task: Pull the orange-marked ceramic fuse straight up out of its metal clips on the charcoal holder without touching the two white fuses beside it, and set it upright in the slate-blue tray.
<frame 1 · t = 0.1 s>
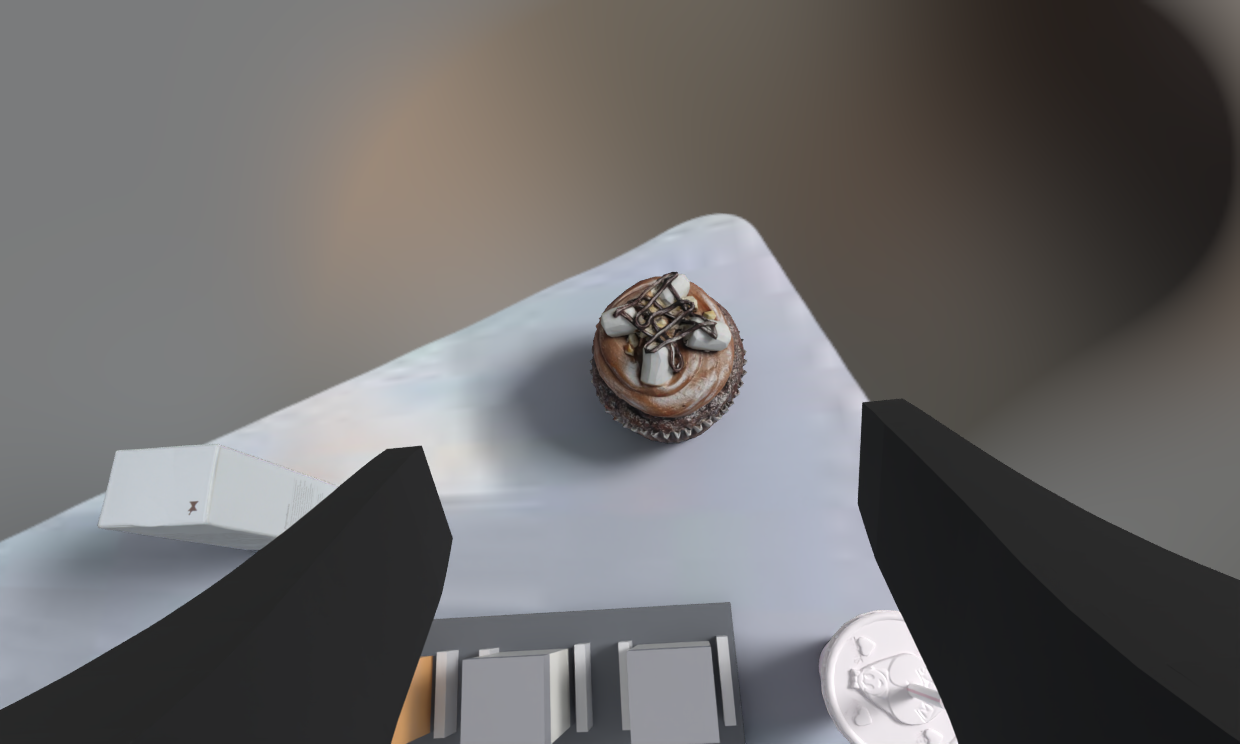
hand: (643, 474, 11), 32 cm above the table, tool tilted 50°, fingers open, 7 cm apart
cupcake: (669, 387, 45), on the table
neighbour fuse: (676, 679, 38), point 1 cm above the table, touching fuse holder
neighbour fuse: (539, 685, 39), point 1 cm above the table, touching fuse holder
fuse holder: (542, 684, 40), on the table
skincare box: (294, 517, 45), on the table
smoothie: (850, 669, 38), on the table
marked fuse: (407, 692, 40), point 1 cm above the table, touching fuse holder
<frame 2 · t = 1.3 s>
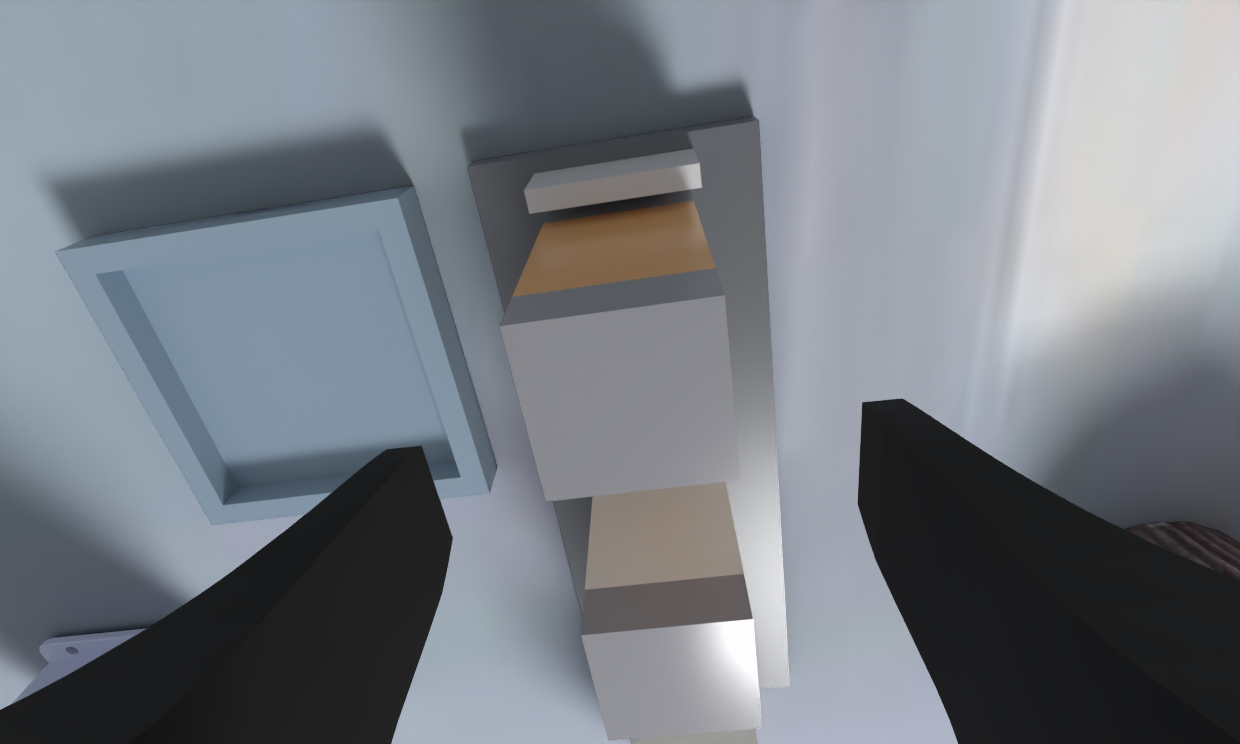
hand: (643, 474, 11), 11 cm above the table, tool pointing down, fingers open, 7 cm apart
cupcake: (1132, 592, 27), on the table
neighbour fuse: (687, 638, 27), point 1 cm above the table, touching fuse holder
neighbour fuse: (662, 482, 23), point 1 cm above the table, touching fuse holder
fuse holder: (662, 468, 24), on the table
tray: (312, 361, 22), on the table
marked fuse: (629, 266, 20), point 1 cm above the table, touching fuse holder
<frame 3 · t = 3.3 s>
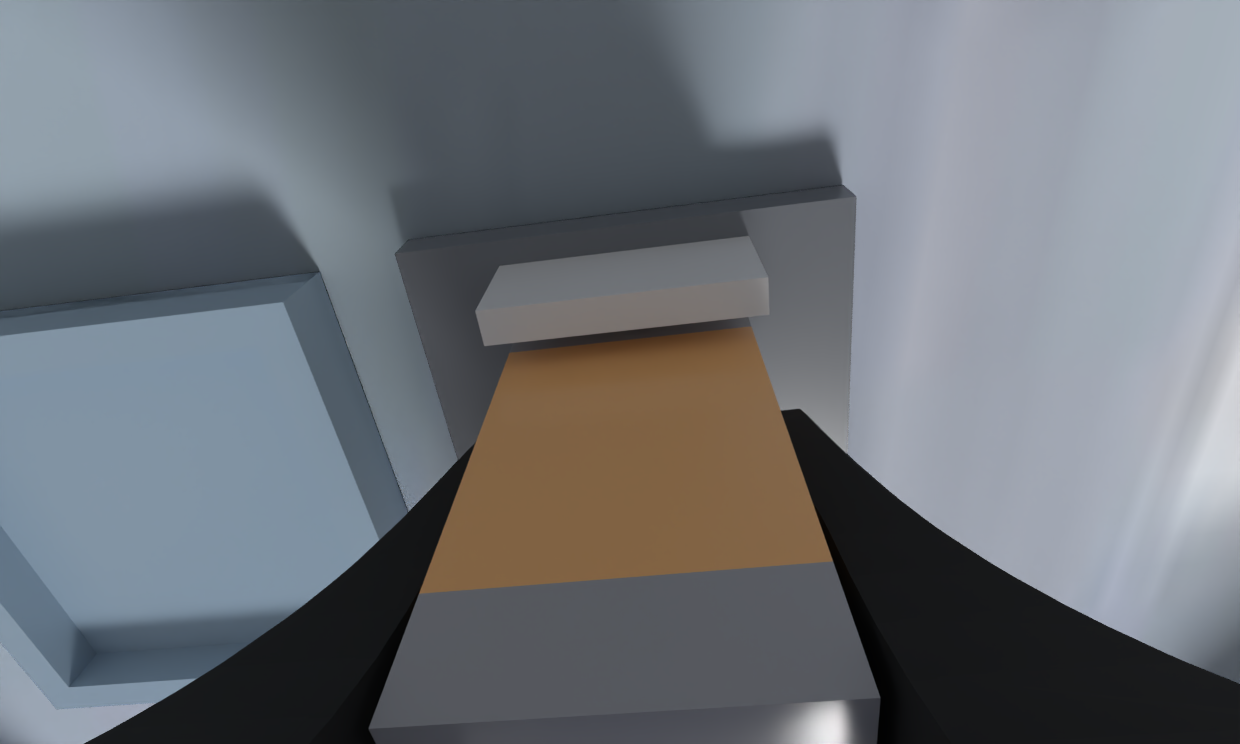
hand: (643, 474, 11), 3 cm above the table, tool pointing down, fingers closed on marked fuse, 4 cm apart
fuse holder: (677, 641, 18), on the table
tray: (188, 500, 16), on the table
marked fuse: (642, 399, 13), point 1 cm above the table, touching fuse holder, gripper
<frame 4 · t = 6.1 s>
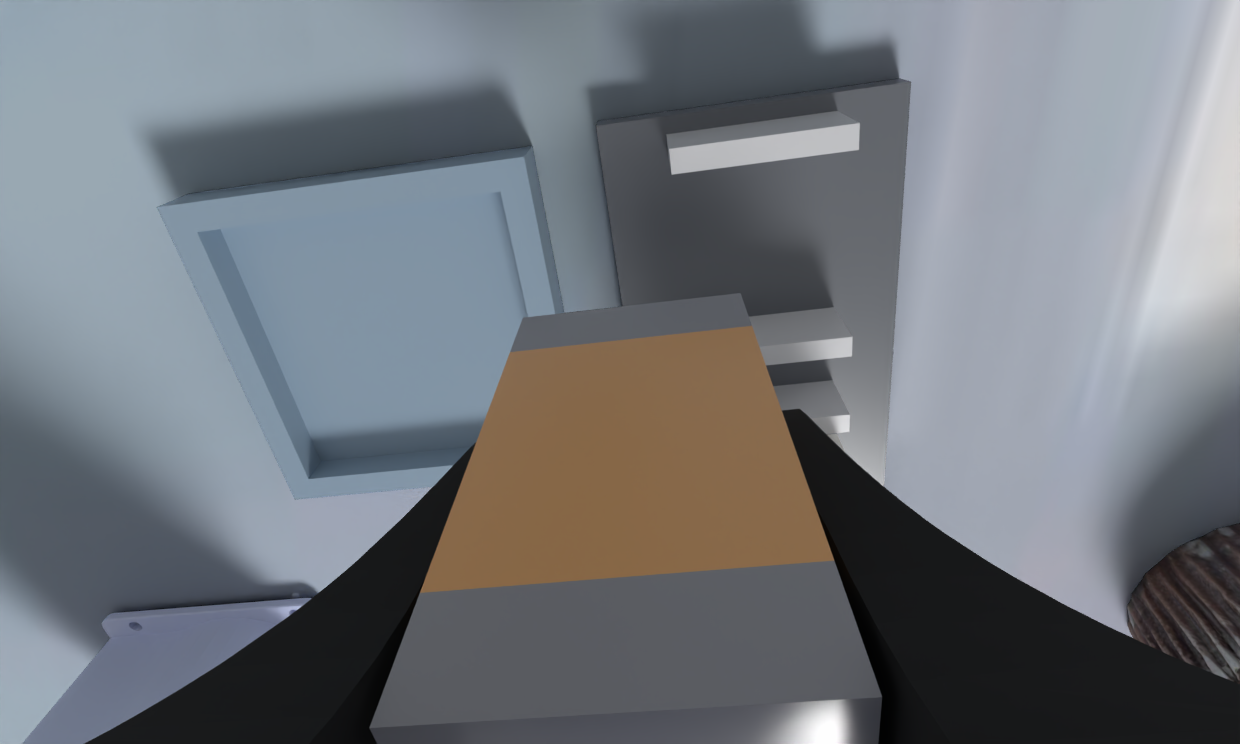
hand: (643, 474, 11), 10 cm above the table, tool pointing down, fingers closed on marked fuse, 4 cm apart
cupcake: (1231, 590, 26), on the table
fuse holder: (761, 450, 23), on the table
tray: (408, 331, 21), on the table
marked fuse: (642, 398, 13), point 8 cm above the table, touching gripper
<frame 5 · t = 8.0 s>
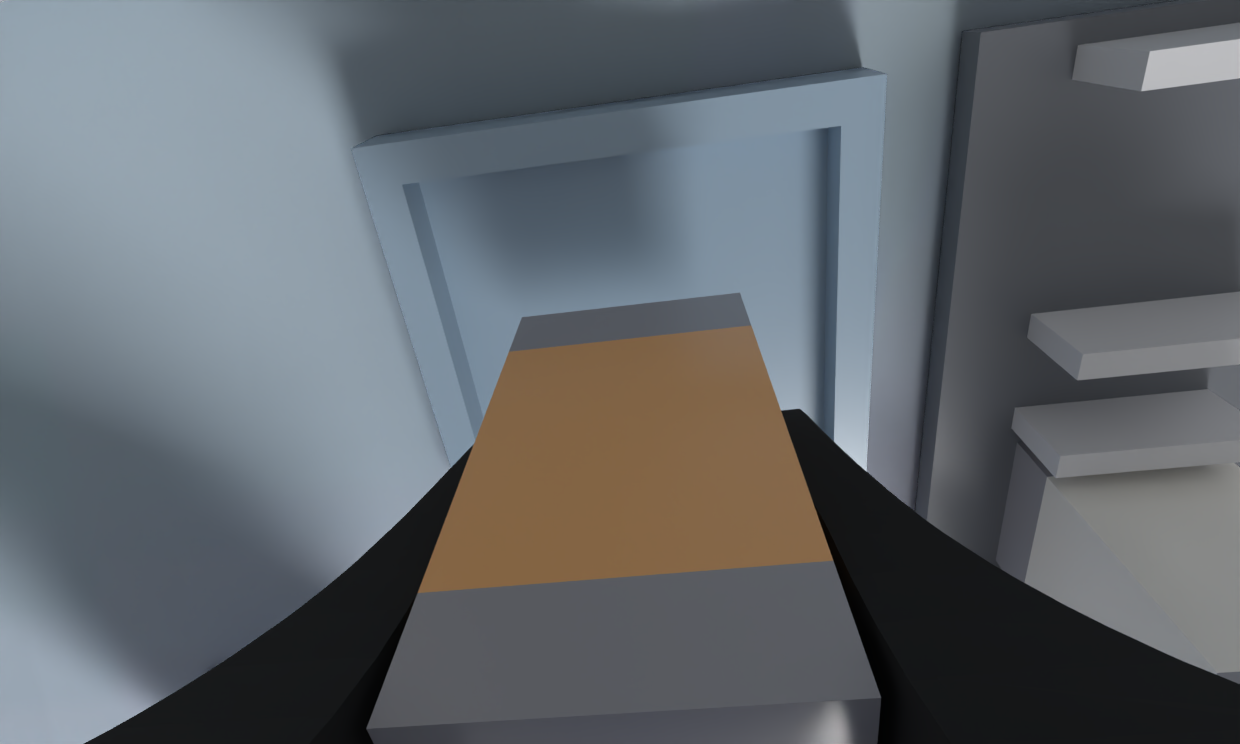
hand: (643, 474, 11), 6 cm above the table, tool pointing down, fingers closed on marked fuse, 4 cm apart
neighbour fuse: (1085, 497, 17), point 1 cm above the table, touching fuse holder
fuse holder: (1067, 478, 18), on the table
tray: (641, 324, 16), on the table
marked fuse: (642, 398, 13), point 4 cm above the table, touching gripper
when the fingers open (4 cm above the table, at t = 9.3 s): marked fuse drops 1 cm, resting on tray.
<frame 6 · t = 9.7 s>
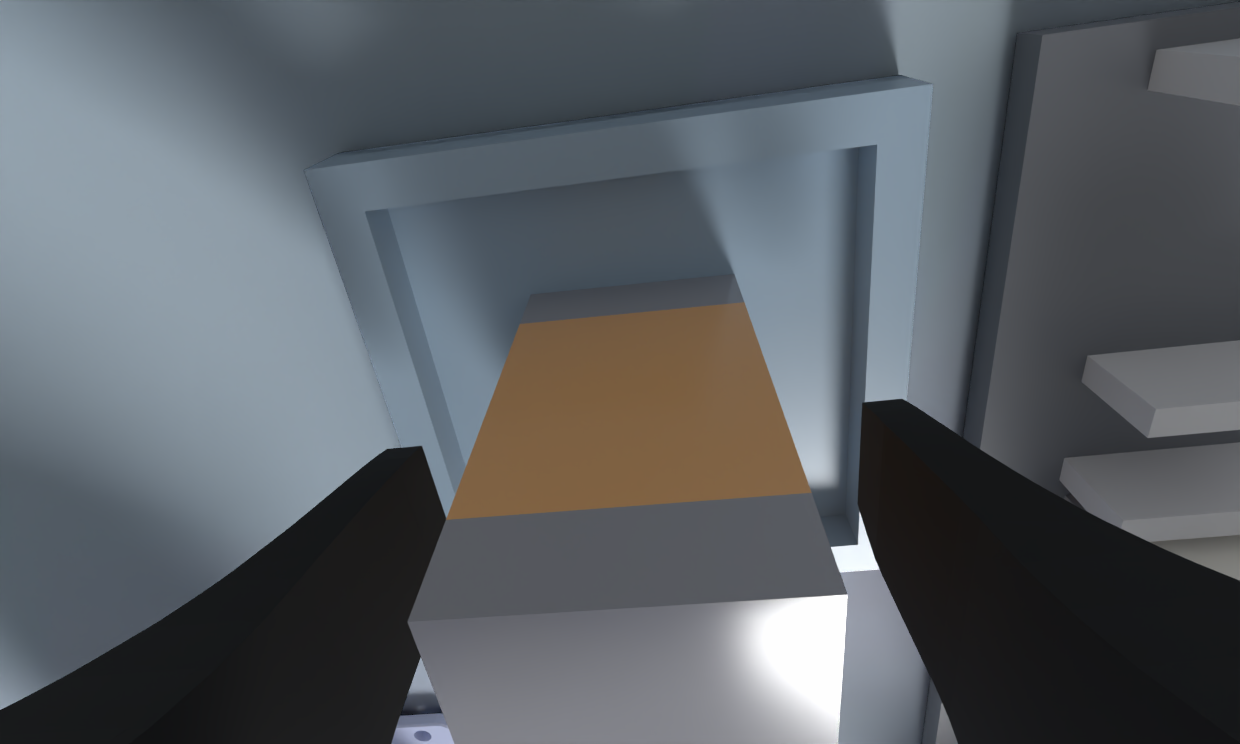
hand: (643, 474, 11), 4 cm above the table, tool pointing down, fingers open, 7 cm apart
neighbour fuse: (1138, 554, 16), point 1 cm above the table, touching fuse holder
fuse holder: (1117, 530, 16), on the table
tray: (642, 363, 14), on the table
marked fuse: (641, 373, 14), resting on tray
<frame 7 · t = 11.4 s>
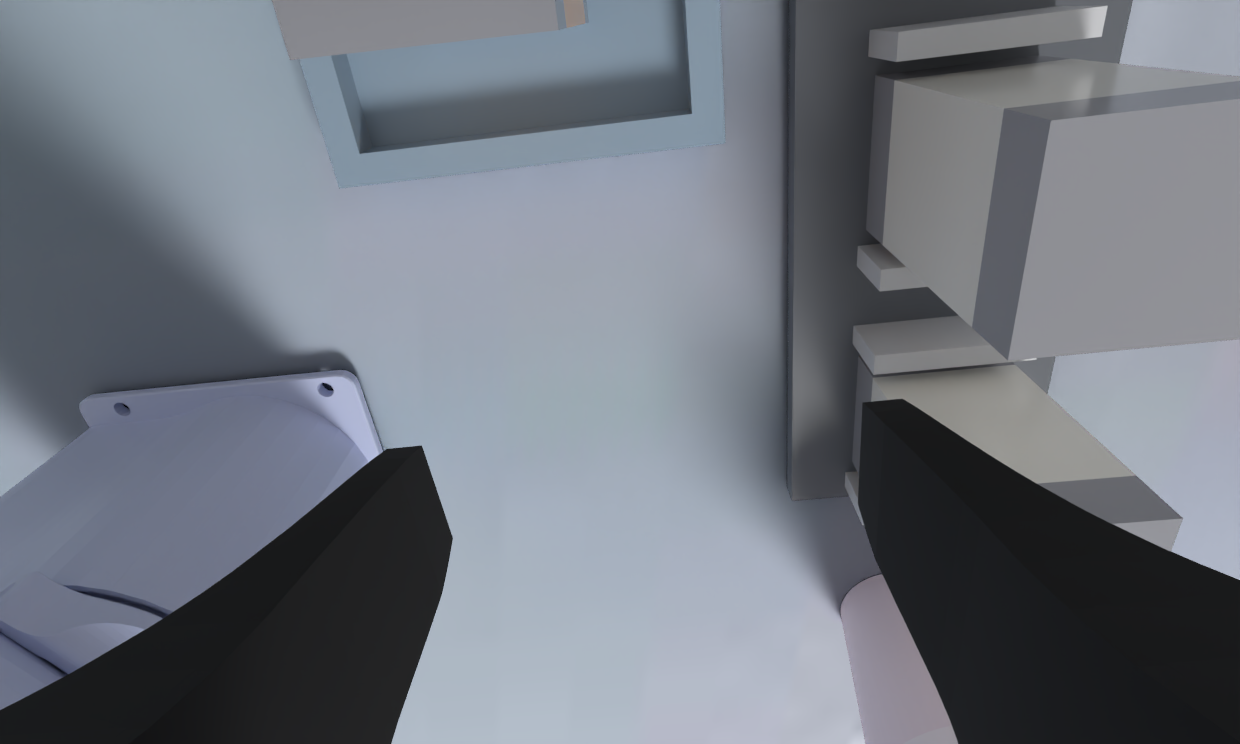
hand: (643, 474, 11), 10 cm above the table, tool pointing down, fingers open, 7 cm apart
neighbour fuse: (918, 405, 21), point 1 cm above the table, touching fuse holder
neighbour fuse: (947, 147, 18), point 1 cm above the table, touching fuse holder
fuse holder: (935, 142, 18), on the table
smoothie: (885, 602, 27), on the table
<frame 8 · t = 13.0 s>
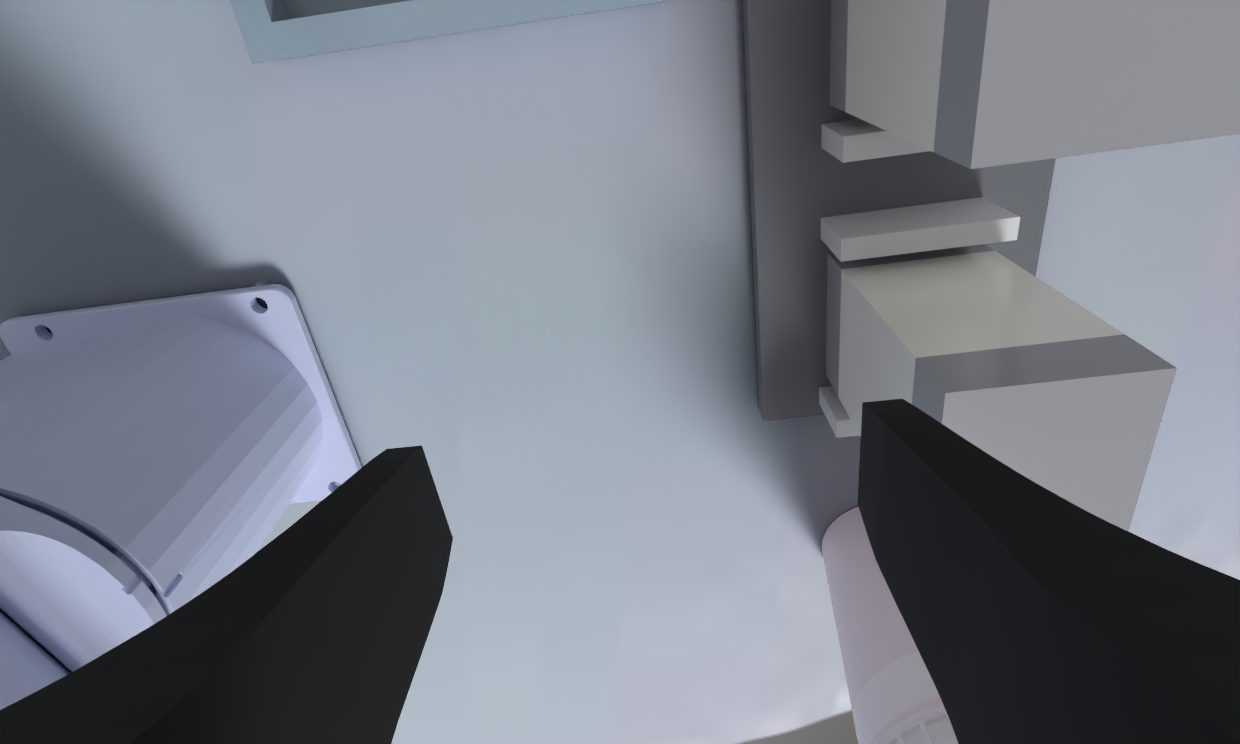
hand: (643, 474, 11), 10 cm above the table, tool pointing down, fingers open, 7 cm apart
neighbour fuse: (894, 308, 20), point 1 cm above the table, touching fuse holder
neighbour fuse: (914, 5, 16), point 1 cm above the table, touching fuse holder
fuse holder: (902, 5, 17), on the table
smoothie: (869, 537, 26), on the table
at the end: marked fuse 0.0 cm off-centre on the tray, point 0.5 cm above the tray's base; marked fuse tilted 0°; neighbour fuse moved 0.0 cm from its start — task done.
